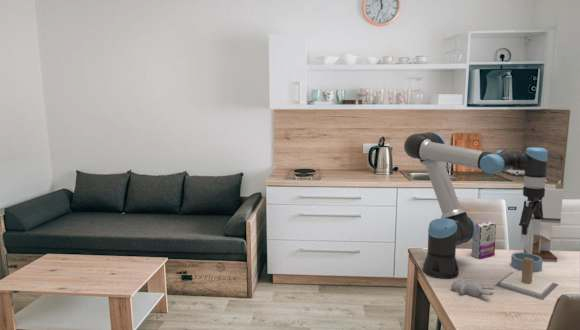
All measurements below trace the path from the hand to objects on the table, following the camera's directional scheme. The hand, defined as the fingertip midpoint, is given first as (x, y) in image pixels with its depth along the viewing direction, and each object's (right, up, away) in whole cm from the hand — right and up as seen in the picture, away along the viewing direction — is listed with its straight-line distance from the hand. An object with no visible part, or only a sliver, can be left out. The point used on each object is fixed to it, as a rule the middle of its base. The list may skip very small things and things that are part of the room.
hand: (530, 238), depth 174 cm
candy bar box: (-2, -15, +38) cm, 41 cm away
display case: (+24, -16, +36) cm, 46 cm away
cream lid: (0, -20, +3) cm, 20 cm away
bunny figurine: (-25, -22, -3) cm, 33 cm away
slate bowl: (+10, -17, +22) cm, 30 cm away
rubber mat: (0, -20, +3) cm, 21 cm away
